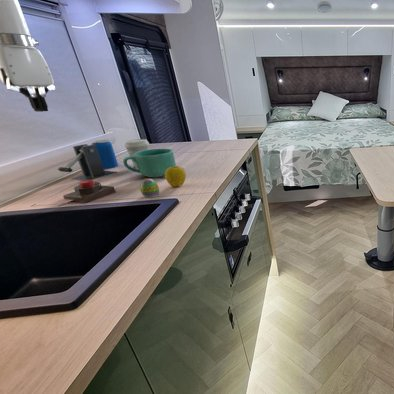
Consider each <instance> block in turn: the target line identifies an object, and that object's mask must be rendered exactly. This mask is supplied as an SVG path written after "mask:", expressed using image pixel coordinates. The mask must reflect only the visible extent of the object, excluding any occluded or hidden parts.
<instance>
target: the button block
mask: <svg viewBox="0 0 394 394" xmlns="http://www.w3.org/2000/svg"><path fill="white" fill-rule="evenodd" d="M94 184H95V185H94V186H91V187H86V188H80V186H79V184H77V185H76V186H74V187H73V190H74V191H72V192H69V193H66V194H63V195H62V196H63V199H64V200H70V201H68V203H74V204H75V203H76V204H84V205H85V204H88V203H90V202H93V201H96V200H98V199H101V198H104V197H108V196H110V195H112V194H115V193H116V192H117V191H116V189H115V186H112V185H103V184H102V183H101V182H99V181H94Z"/></svg>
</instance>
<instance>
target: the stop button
mask: <svg viewBox="0 0 394 394" xmlns="http://www.w3.org/2000/svg"><path fill="white" fill-rule="evenodd" d="M94 182H95V181H94V179H93V180H79V182H78V185H79V186H80V188H86V187H91V186H94V185H95V184H94Z"/></svg>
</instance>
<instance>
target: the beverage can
mask: <svg viewBox="0 0 394 394" xmlns="http://www.w3.org/2000/svg"><path fill="white" fill-rule="evenodd" d="M91 145H96V148H97V151H98V154H99V157H100V160H101V163H102V166H103V169H104V170H108V169H113V168H118V167H119V163H118V159H117V156H116V153H115V150H114V146H113V144H112V142H111V141H110V140H109V139H101V140H93V141H92V142H91Z"/></svg>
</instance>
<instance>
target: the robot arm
mask: <svg viewBox="0 0 394 394" xmlns="http://www.w3.org/2000/svg"><path fill="white" fill-rule="evenodd" d="M39 45H40V44H39V41H38V40H34V38H33V36H32V34H31V31H30V29H29V26H28V24H27V21H26V18H25V16H24V13H23V10H22V6H21V5H20V1H19V0H0V81H1V82H2V85H5V86H6V89H7V90H8V91H10V92H16V93H20V94H22V95H23V96H24V97H26V98H28V101H29V104H30V106H31V108H32V109H33V110H34V112H38V113H39V112H40V113H42V112H48V111H49V109H48V108H49V106H48V103H47V101H46V97H47V93H48V92H50V91H55V90H56V86H55V81H54V77H53V75H52V72H51V70H50V68H49V66H48V63H47V61H46V59H45V57H44V56H43V54H42V53H41V51H40V50H39V49H38V48H36V46H39Z"/></svg>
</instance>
